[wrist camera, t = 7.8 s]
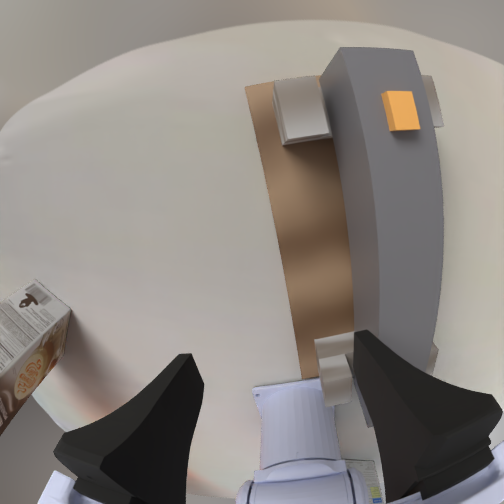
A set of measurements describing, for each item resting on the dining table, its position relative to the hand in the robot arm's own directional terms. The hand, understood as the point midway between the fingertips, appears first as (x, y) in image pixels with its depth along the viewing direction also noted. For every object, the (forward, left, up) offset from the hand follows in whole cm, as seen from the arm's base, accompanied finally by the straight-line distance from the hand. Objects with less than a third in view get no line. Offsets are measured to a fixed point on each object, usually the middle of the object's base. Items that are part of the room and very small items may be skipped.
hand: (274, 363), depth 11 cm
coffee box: (-2, +26, -10) cm, 28 cm away
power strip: (+1, -7, -6) cm, 10 cm away
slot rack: (+1, -7, -10) cm, 12 cm away
